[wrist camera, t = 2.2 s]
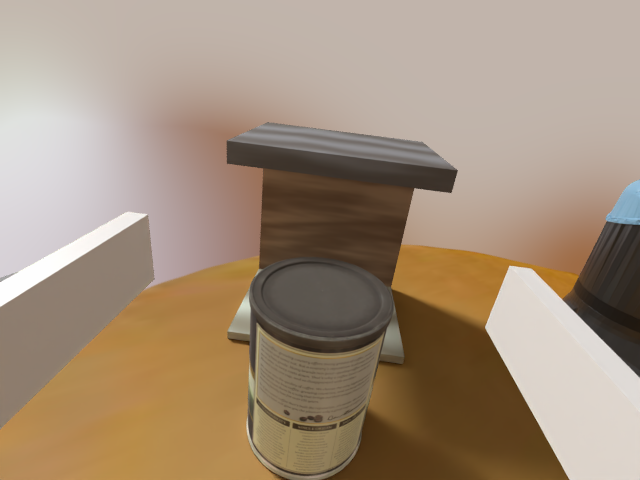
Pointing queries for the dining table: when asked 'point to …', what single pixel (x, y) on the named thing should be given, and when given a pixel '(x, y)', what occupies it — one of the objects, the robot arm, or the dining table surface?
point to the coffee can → (312, 363)
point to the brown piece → (336, 201)
